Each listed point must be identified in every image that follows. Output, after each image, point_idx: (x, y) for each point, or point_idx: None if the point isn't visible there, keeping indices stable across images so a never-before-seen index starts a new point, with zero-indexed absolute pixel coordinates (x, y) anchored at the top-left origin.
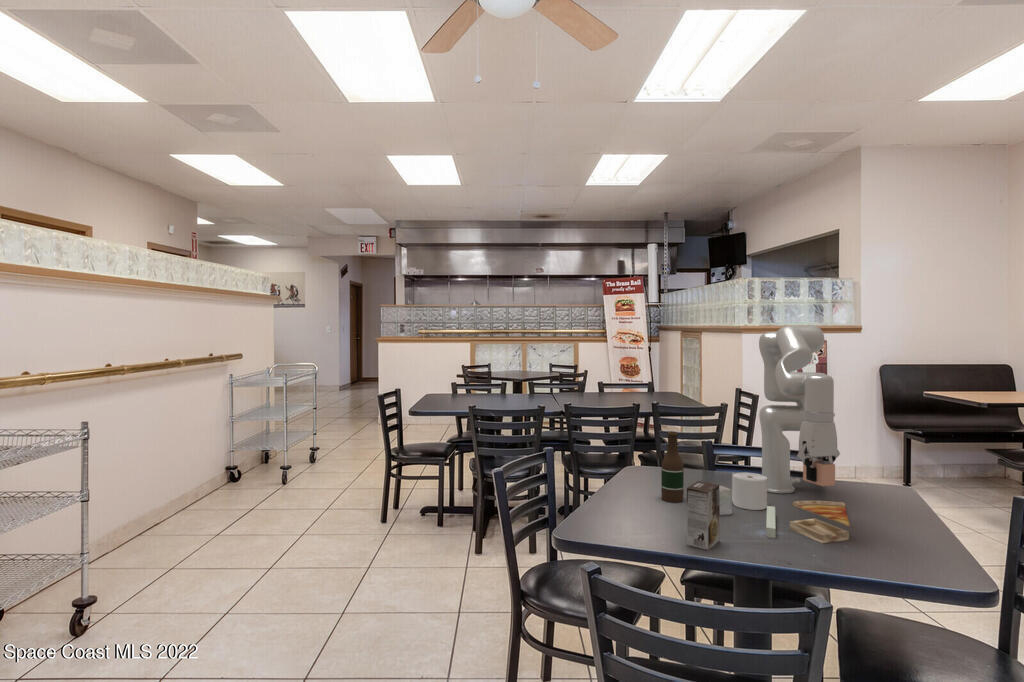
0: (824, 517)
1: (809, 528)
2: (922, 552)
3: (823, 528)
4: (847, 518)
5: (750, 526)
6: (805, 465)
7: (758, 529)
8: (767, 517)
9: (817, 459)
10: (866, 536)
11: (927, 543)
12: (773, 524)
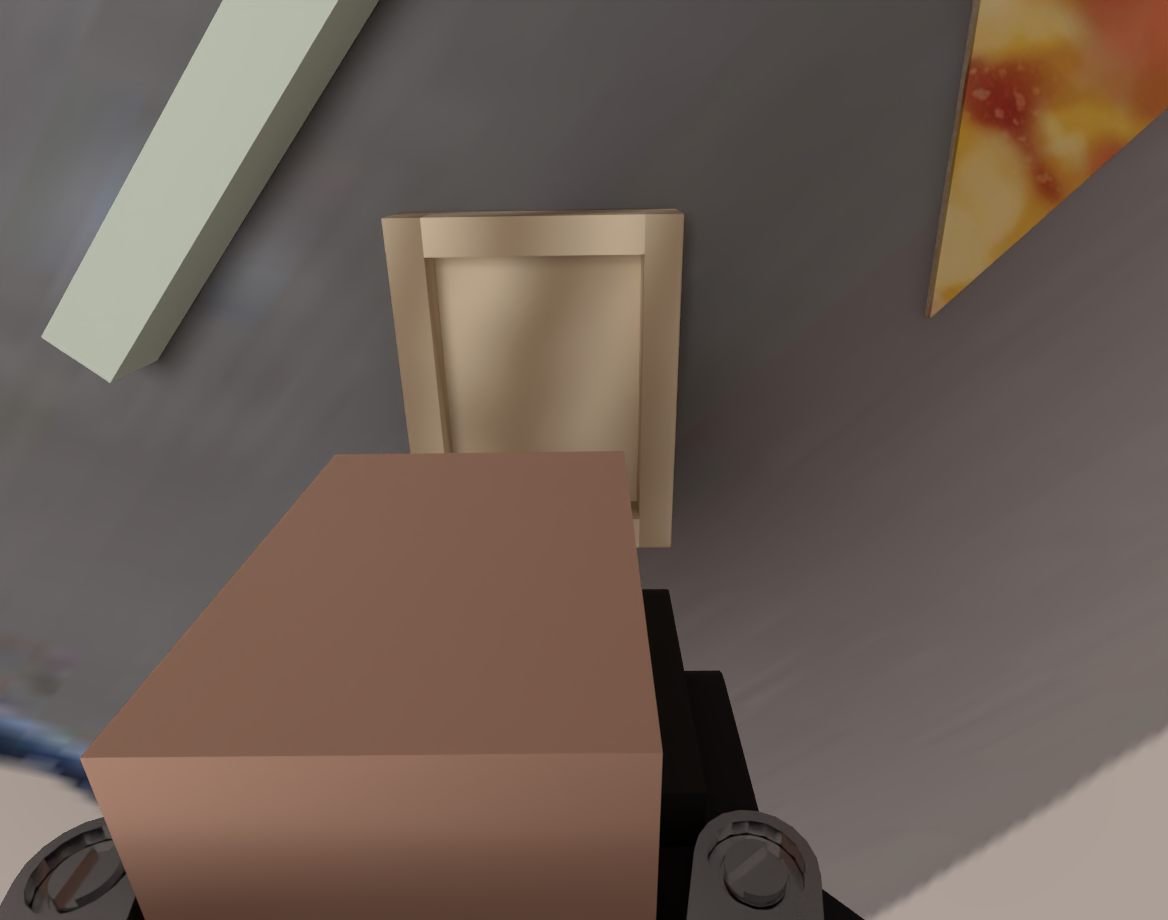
0: (971, 19)
1: (429, 417)
2: (887, 748)
3: (637, 339)
4: (1108, 155)
5: (71, 36)
6: (68, 861)
7: (113, 136)
8: (186, 89)
9: (650, 828)
10: (842, 500)
11: (1069, 675)
12: (144, 289)
